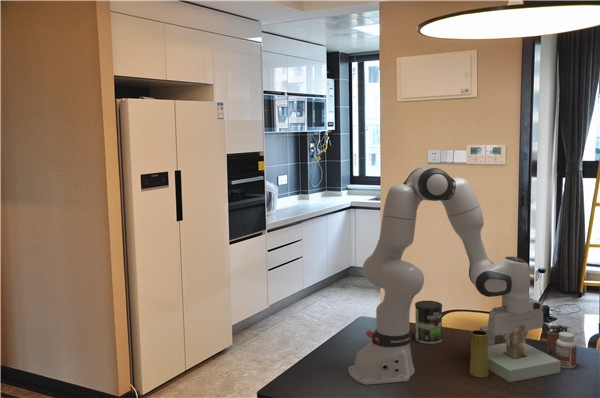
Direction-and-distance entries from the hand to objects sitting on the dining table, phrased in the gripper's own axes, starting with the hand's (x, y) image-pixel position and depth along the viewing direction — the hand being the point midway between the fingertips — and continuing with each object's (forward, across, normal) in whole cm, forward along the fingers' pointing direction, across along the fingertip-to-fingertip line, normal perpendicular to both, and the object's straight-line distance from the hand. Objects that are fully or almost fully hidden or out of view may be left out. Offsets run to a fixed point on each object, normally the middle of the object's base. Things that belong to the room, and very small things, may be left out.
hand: (515, 343), depth 192 cm
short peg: (+8, +4, +21) cm, 23 cm away
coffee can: (+8, -14, +33) cm, 37 cm away
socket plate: (+8, 0, 0) cm, 8 cm away
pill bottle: (+8, +16, -6) cm, 19 cm away
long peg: (+5, 0, 0) cm, 5 cm away
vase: (+8, -15, -1) cm, 17 cm away
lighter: (+8, +22, +4) cm, 24 cm away
